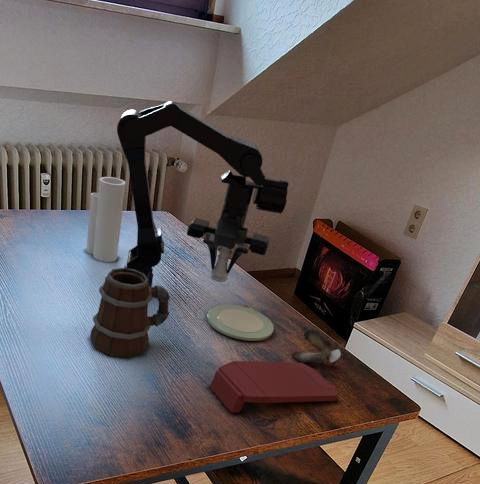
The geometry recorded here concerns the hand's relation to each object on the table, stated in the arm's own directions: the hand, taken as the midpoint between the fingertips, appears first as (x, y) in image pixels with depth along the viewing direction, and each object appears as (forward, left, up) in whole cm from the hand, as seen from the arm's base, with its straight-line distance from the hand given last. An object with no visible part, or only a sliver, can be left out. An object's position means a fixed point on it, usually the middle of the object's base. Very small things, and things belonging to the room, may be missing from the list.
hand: (220, 270), depth 129 cm
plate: (0, -12, -9) cm, 14 cm away
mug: (-30, -12, -9) cm, 33 cm away
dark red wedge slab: (-10, -37, -9) cm, 39 cm away
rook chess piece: (0, 0, -2) cm, 2 cm away
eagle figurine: (+8, -30, -9) cm, 32 cm away
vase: (-16, +33, -9) cm, 38 cm away
